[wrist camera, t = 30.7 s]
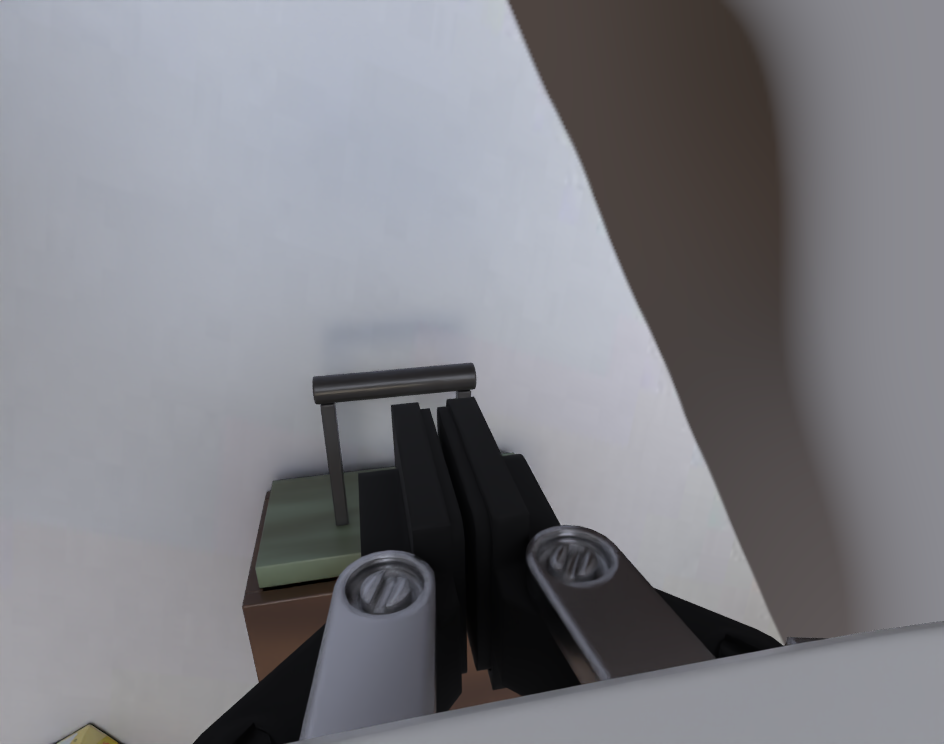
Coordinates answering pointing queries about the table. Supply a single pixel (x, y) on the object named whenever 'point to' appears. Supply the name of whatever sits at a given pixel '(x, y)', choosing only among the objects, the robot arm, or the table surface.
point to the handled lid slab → (336, 481)
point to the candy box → (88, 737)
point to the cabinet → (305, 611)
